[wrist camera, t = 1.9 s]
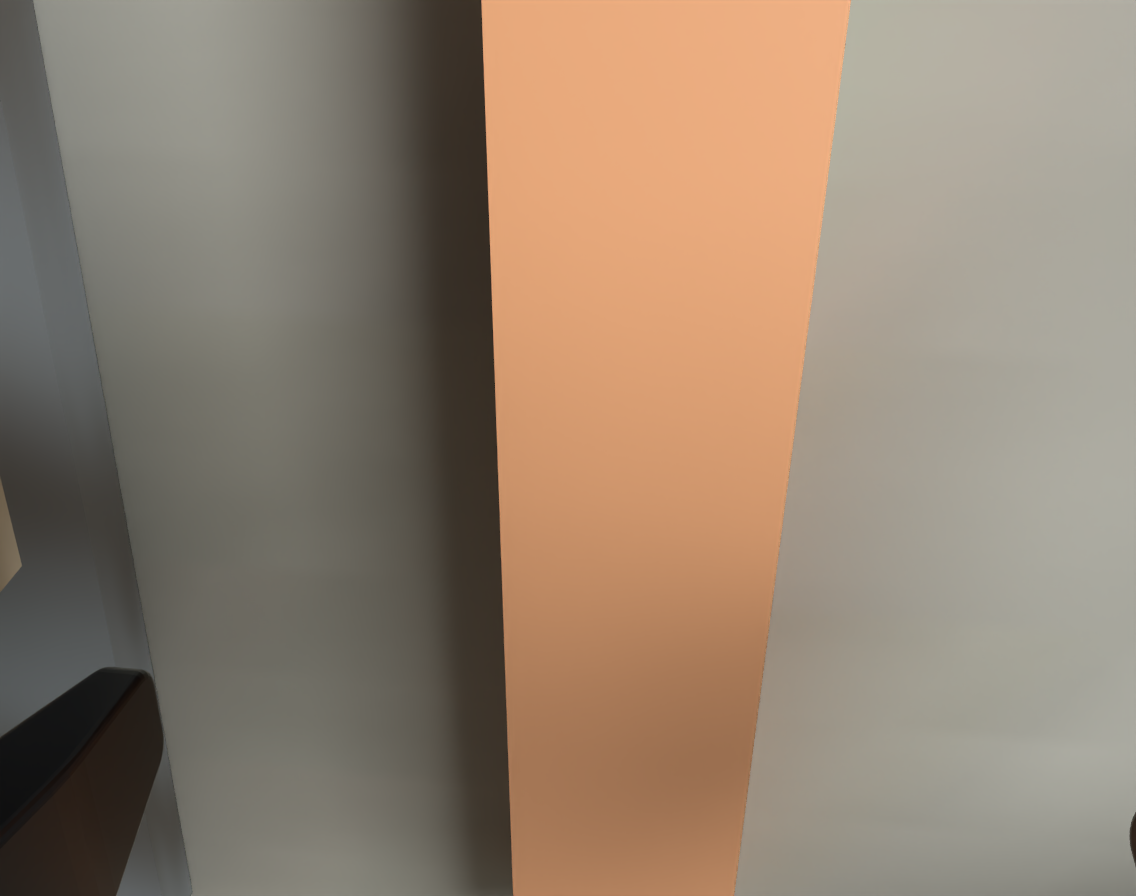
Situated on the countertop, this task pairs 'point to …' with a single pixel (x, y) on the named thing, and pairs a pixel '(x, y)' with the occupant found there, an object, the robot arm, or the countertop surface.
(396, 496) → the countertop surface
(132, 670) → the robot arm
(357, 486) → the countertop surface
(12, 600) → the ridge
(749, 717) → the bar
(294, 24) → the countertop surface
